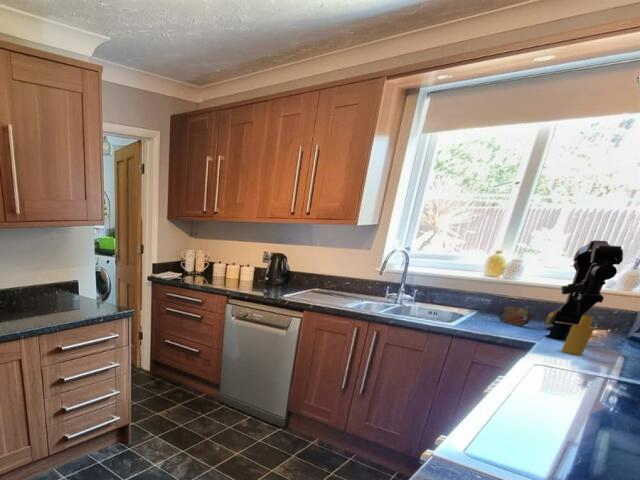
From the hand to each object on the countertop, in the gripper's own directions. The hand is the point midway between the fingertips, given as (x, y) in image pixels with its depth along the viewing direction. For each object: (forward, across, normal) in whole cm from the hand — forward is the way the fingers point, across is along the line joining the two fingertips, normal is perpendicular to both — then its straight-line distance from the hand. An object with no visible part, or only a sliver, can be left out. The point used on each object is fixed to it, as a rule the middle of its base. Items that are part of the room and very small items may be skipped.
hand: (578, 316), depth 175 cm
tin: (+12, -42, -16) cm, 47 cm away
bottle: (+13, +12, 0) cm, 18 cm away
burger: (+12, -42, +3) cm, 44 cm away
